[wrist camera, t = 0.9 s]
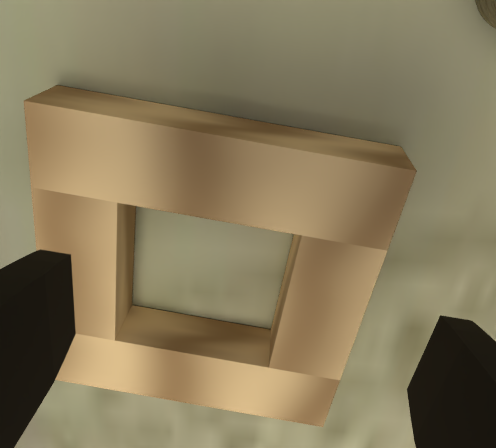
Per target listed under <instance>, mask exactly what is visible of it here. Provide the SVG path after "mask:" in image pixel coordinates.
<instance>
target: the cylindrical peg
mask: <svg viewBox="0 0 496 448" xmlns="http://www.w3.org/2000/svg"><path fill="white" fill-rule="evenodd" d="M476 5H477V7H478V10H479V12H480V14H481V15H482V17H483V18H484V19H485V21H486V22H487V23H488V24H490V25H491V26H492V27H494V28H495V29H496V0H476Z"/></svg>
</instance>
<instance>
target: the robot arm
mask: <svg viewBox="0 0 496 448" xmlns="http://www.w3.org/2000/svg"><path fill="white" fill-rule="evenodd" d="M75 335H76V329H75V313H74V296H73V279H72V262H71V254H65V253H59V252H53V251H47V250H41V249H40V250H38V251H35V252H33V253H31V254H29V255H27V256H25V257H23V258H21V259H19V260H17V261H15V262H13V263H11V264H9V265H7V266H5V267H4V268H2V269H0V448H14V447H15V445H16V444H17V442H18V440H19V439H20V437H21V435H22V434H23V432H24V431H25V429H26V427H27V426H28V424H29V422H30V421H31V419H32V418H33V416H34V414H35V413H36V411H37V409H38V408H39V406H40V404H41V403H42V401H43V399H44V398H45V396H46V394H47V393H48V391H49V389H50V388H51V386H52V384H53V383H54V381H55V379H56V377H57V375H58V373H59V370H60V368H61V366H62V364H63V362H64V360H65V358H66V355H67V353H68V351H69V348H70V346H71V344H72V341H73V339H74V337H75ZM407 392H408V400H409V407H410V415H411V422H412V428H413V434H414V441H415V444H416V448H496V342H495V341H494V340H493V339H492V338H491V337H490V336H489V335H488V334H487V333H486V332H485V331H483V330H482V329H481V328H480V327H479V326H478V325H476V324H475V323H474V322H473V321H470V320H464V319H458V318H452V317H446V316H440V318H439V320H438V322H437V324H436V326H435V329H434V331H433V333H432V335H431V338H430V340H429V342H428V344H427V346H426V349H425V351H424V353H423V355H422V357H421V360H420V362H419V364H418V366H417V368H416V371H415V373H414V375H413V377H412V380H411V382H410V384H409V386H408V388H407Z"/></svg>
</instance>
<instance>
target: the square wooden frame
mask: <svg viewBox="0 0 496 448" xmlns="http://www.w3.org/2000/svg"><path fill="white" fill-rule="evenodd" d="M24 109H25V121H26V132H27V144H28V155H29V167H30V179H31V190H32V202H33V214H34V225H35V237H36V248H37V251H38V250H40V249H41V250H47V251H53V252H59V253H65V254H71V262H72V279H73V296H74V313H75V329H76V335H75V337H74V339H73V341H72V344H71V346H70V348H69V351H68V353H67V355H66V358H65V360H64V362H63V364H62V366H61V368H60V370H59V373H58V375H57V377H56V379H55V380H60V381H66V382H71V383H77V384H83V385H88V386H94V387H100V388H105V389H111V390H117V391H122V392H128V393H134V394H139V395H145V396H151V397H156V398H162V399H168V400H173V401H179V402H185V403H190V404H196V405H202V406H207V407H213V408H219V409H224V410H230V411H236V412H241V413H247V414H253V415H258V416H264V417H270V418H275V419H281V420H287V421H292V422H298V423H304V424H309V425H315V426H321V427H323V425H324V423H325V420H326V417H327V415H328V412H329V409H330V406H331V404H332V401H333V398H334V395H335V393H336V390H337V387H338V384H339V382H340V379H341V376H342V374H343V371H344V368H345V365H346V363H347V360H348V357H349V354H350V352H351V349H352V346H353V344H354V341H355V338H356V335H357V333H358V330H359V327H360V324H361V322H362V319H363V316H364V314H365V311H366V308H367V305H368V303H369V300H370V297H371V294H372V292H373V289H374V286H375V284H376V281H377V278H378V275H379V273H380V270H381V267H382V264H383V262H384V259H385V256H386V253H387V251H388V248H389V245H390V243H391V240H392V237H393V234H394V232H395V229H396V226H397V223H398V221H399V218H400V215H401V213H402V210H403V207H404V204H405V202H406V199H407V196H408V193H409V191H410V188H411V185H412V183H413V180H414V177H415V174H416V172H417V171H416V169H415V168H414V166H413V164H412V163H411V161H410V160H409V158H408V157H407V155H406V154H405V152H404V151H403V149H402V147H400V146H395V145H389V144H383V143H378V142H372V141H367V140H361V139H355V138H350V137H344V136H339V135H333V134H328V133H322V132H316V131H311V130H305V129H300V128H294V127H288V126H283V125H277V124H272V123H266V122H260V121H255V120H249V119H244V118H238V117H233V116H227V115H221V114H216V113H210V112H205V111H199V110H193V109H188V108H182V107H177V106H171V105H165V104H160V103H154V102H149V101H143V100H138V99H132V98H126V97H121V96H115V95H110V94H104V93H98V92H93V91H87V90H82V89H76V88H70V87H65V86H59V85H56V86H54V87H52V88H50V89H48V90H46V91H43V92H41V93H39V94H37V95H35V96H33V97H31V98H29V99H26V100H24ZM136 206H139V207H145V208H150V209H156V210H162V211H167V212H173V213H178V214H184V215H190V216H195V217H201V218H206V219H212V220H218V221H223V222H229V223H235V224H240V225H246V226H251V227H257V228H263V229H268V230H274V231H280V232H285V233H291V234H294V235H293V240H292V244H291V248H290V252H289V256H288V260H287V265H286V269H285V273H284V277H283V281H282V285H281V290H280V294H279V298H278V302H277V306H276V310H275V314H274V319H273V323H272V327H271V330H270V329H264V328H258V327H253V326H247V325H241V324H236V323H230V322H224V321H219V320H213V319H208V318H202V317H196V316H191V315H185V314H179V313H174V312H168V311H162V310H157V309H151V308H145V307H140V306H134V305H132V291H133V266H134V241H135V215H136Z"/></svg>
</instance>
